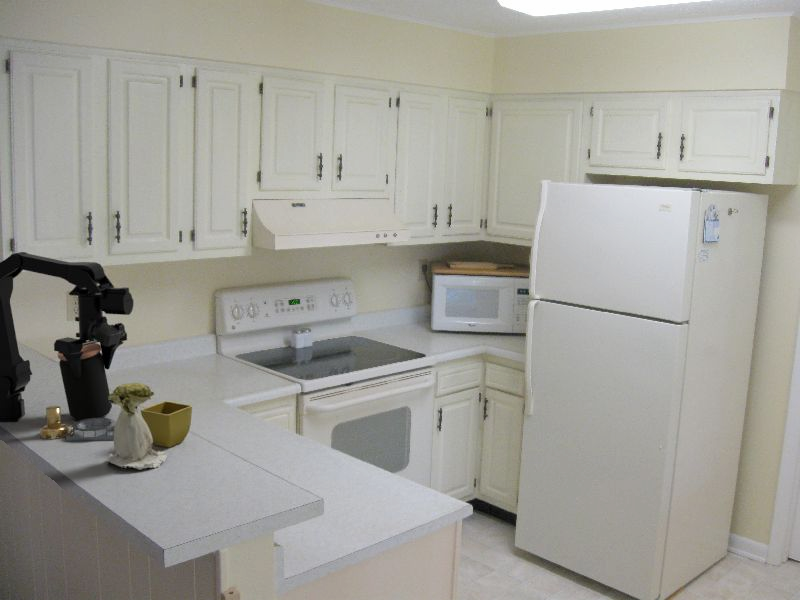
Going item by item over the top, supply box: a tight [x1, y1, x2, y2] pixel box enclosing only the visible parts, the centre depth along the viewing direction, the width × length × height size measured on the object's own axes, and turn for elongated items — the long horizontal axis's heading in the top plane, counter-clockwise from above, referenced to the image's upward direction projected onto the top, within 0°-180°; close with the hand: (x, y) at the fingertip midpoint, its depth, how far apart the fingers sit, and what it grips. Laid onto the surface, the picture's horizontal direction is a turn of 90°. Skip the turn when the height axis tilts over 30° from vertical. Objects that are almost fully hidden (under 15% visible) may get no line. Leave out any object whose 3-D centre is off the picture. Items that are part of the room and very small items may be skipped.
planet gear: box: [39, 405, 70, 440], centre depth 210 cm, size 6×6×7 cm
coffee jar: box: [57, 342, 113, 422], centre depth 222 cm, size 11×11×18 cm
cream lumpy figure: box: [106, 382, 168, 471], centre depth 191 cm, size 12×13×18 cm
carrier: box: [65, 417, 117, 442], centre depth 212 cm, size 19×10×2 cm, turn 96°
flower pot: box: [140, 400, 193, 448], centre depth 205 cm, size 9×9×9 cm
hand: (93, 373), depth 218 cm, fingers open, 9 cm apart
